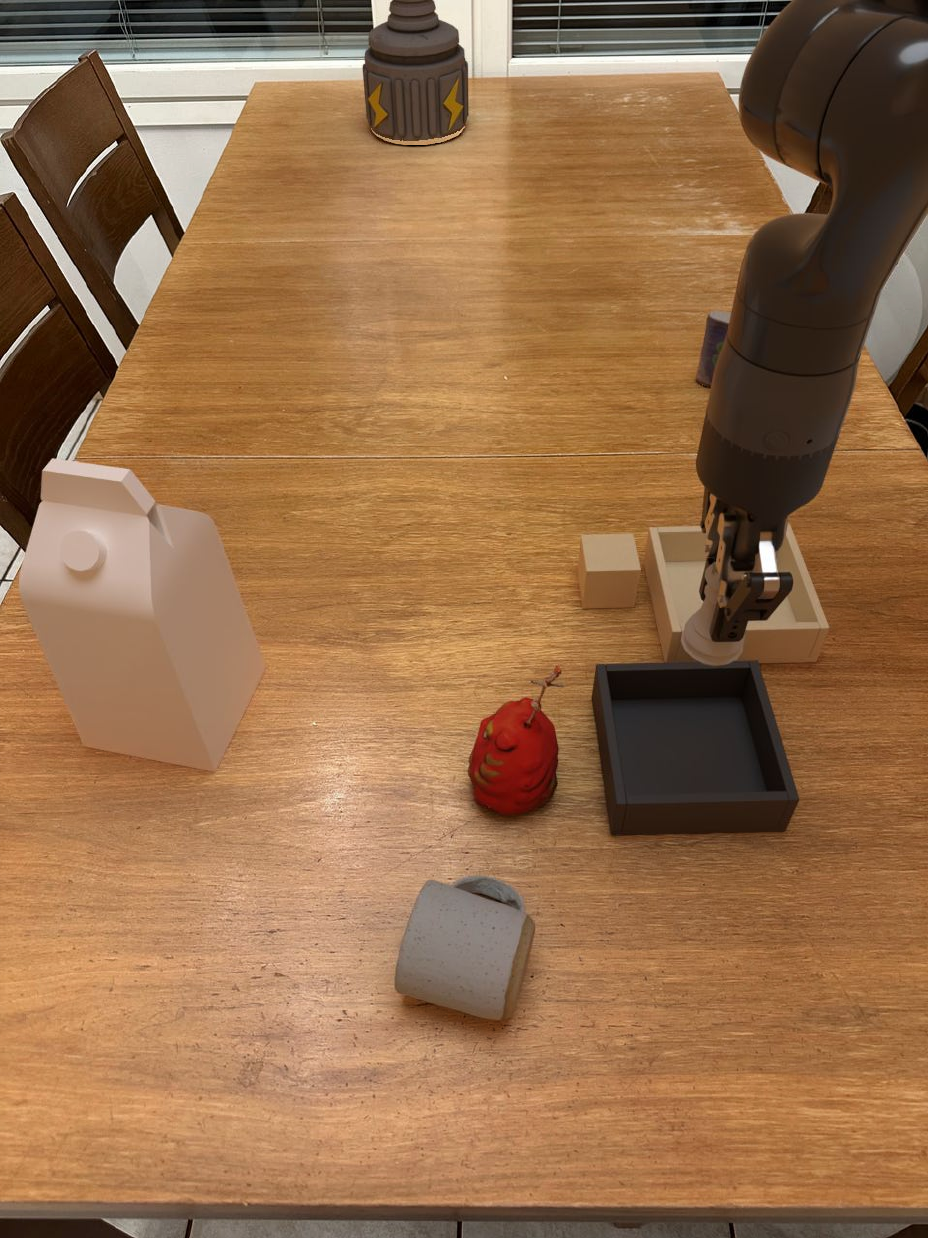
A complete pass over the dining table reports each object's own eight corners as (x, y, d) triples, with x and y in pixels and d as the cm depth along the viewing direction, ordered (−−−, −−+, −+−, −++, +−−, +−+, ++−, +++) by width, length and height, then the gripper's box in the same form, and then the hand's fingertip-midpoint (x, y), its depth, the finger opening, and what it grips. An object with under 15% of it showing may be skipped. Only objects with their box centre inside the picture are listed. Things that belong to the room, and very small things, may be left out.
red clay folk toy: (491, 736, 80) (492, 615, 69) (570, 762, 78) (584, 642, 67) (456, 809, 75) (451, 691, 64) (539, 838, 73) (549, 722, 62)
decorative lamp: (491, 126, 173) (492, -74, 151) (417, 157, 163) (407, -51, 141) (418, 101, 182) (409, -91, 160) (345, 130, 172) (324, -70, 150)
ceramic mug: (511, 1044, 63) (515, 997, 57) (395, 1010, 64) (387, 961, 59) (546, 901, 70) (552, 847, 64) (440, 874, 72) (437, 819, 66)
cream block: (627, 570, 93) (633, 533, 90) (634, 607, 90) (641, 569, 86) (577, 572, 93) (580, 534, 90) (582, 608, 90) (586, 571, 86)
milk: (266, 667, 86) (203, 430, 66) (215, 772, 78) (128, 538, 59) (144, 646, 88) (49, 410, 68) (83, 746, 80) (-42, 512, 61)
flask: (691, 381, 116) (706, 299, 108) (705, 371, 117) (721, 290, 109) (756, 411, 111) (778, 328, 103) (770, 401, 113) (792, 318, 105)
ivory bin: (779, 558, 94) (790, 523, 91) (816, 662, 85) (829, 628, 82) (642, 561, 94) (648, 526, 91) (665, 666, 85) (672, 631, 82)
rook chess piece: (690, 616, 71) (708, 536, 65) (749, 635, 69) (773, 556, 63) (671, 657, 68) (689, 578, 62) (732, 678, 67) (756, 599, 61)
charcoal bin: (746, 694, 83) (757, 659, 79) (785, 831, 73) (800, 799, 70) (591, 697, 83) (595, 663, 79) (610, 835, 73) (616, 804, 70)
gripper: (879, 489, 49) (798, 695, 62) (807, 343, 59) (750, 548, 71) (734, 492, 49) (683, 698, 62) (687, 346, 59) (651, 550, 71)
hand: (719, 616), depth 66 cm, fingers closed on rook chess piece, 3 cm apart
